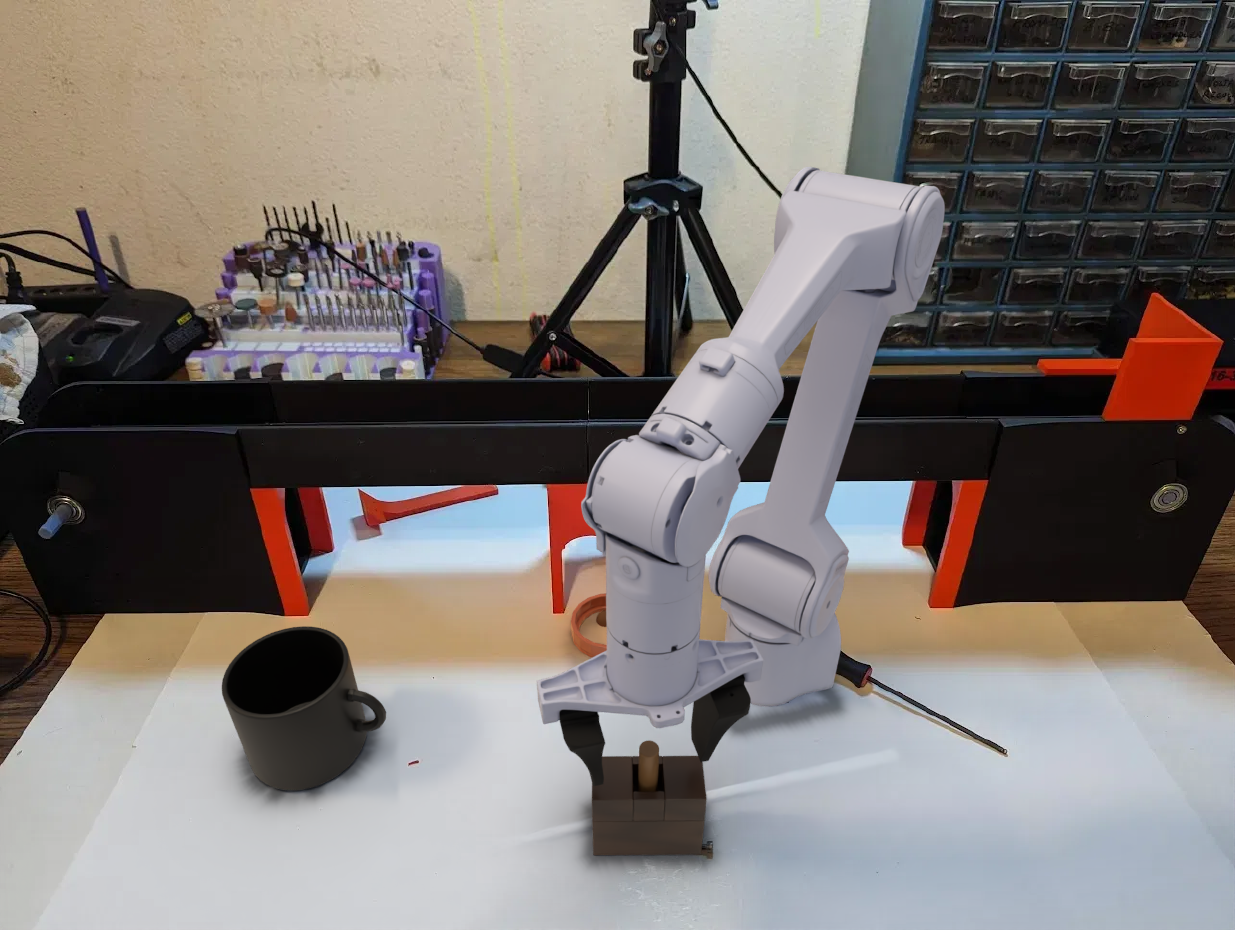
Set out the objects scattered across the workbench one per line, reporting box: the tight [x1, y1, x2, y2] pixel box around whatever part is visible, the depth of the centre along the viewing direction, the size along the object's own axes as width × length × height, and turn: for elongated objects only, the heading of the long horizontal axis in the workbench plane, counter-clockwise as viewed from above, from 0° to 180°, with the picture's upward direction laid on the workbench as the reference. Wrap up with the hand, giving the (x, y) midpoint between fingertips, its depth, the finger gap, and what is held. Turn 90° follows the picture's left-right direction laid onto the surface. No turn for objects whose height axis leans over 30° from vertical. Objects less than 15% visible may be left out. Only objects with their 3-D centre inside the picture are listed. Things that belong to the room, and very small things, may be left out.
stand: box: [591, 755, 708, 856], centre depth 59 cm, size 8×4×7 cm, turn 90°
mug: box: [221, 625, 387, 791], centre depth 65 cm, size 9×12×9 cm
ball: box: [595, 610, 607, 628], centre depth 78 cm, size 2×2×2 cm
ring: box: [570, 592, 607, 659], centre depth 77 cm, size 7×7×3 cm
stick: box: [638, 739, 660, 792], centre depth 57 cm, size 1×1×6 cm
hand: (648, 761), depth 56 cm, fingers open, 7 cm apart
